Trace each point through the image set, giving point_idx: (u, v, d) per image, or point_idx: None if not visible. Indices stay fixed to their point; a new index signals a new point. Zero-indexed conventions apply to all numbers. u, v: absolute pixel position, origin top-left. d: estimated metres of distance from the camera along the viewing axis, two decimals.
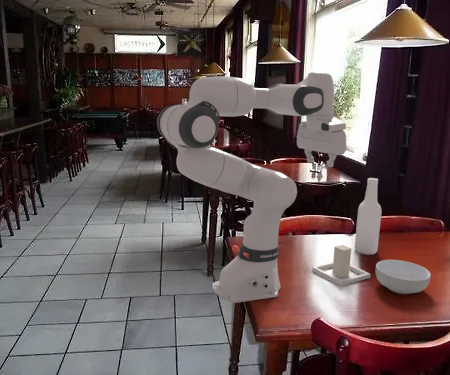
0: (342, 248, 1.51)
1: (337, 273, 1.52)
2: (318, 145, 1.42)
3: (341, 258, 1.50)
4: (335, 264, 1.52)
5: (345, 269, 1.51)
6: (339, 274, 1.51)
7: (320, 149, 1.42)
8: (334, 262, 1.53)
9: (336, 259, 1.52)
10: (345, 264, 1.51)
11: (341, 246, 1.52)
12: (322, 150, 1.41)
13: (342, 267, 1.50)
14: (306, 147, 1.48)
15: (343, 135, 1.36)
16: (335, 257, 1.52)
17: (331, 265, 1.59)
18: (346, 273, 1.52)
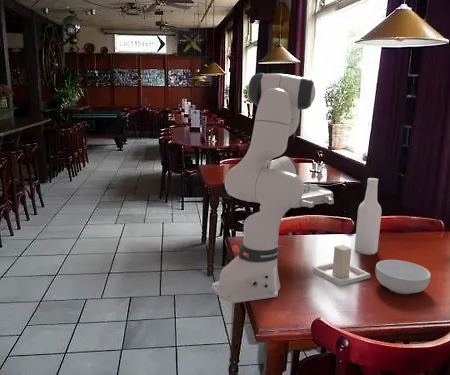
0: (342, 248, 1.51)
1: (337, 273, 1.52)
2: (312, 193, 1.64)
3: (341, 258, 1.50)
4: (335, 264, 1.52)
5: (345, 269, 1.51)
6: (339, 274, 1.51)
7: (317, 194, 1.64)
8: (334, 262, 1.53)
9: (336, 259, 1.52)
10: (345, 264, 1.51)
11: (341, 246, 1.52)
12: (320, 194, 1.64)
13: (342, 267, 1.50)
14: (303, 196, 1.60)
15: None
16: (335, 257, 1.52)
17: (331, 265, 1.59)
18: (346, 273, 1.52)
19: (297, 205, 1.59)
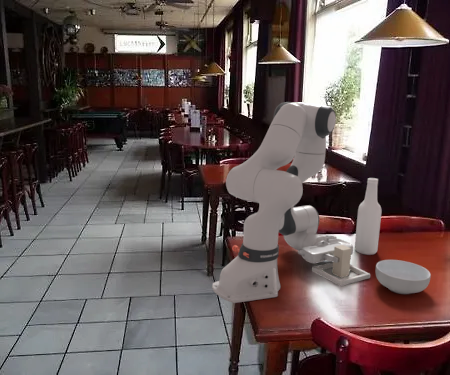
0: (342, 248, 1.51)
1: (337, 273, 1.52)
2: (332, 247, 1.57)
3: (341, 258, 1.50)
4: (335, 264, 1.52)
5: (345, 269, 1.51)
6: (339, 274, 1.51)
7: None
8: (334, 262, 1.53)
9: None
10: (345, 264, 1.51)
11: (341, 246, 1.52)
12: None
13: (342, 267, 1.50)
14: (323, 251, 1.53)
15: None
16: None
17: (331, 265, 1.59)
18: (346, 273, 1.52)
19: (317, 260, 1.52)
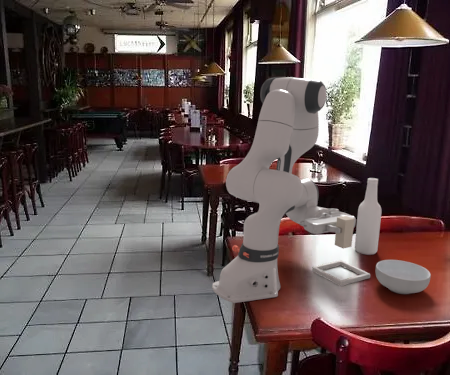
0: (344, 218, 1.48)
1: (339, 244, 1.50)
2: (335, 219, 1.55)
3: (344, 229, 1.47)
4: (337, 235, 1.50)
5: (347, 240, 1.49)
6: (342, 245, 1.49)
7: None
8: (336, 233, 1.50)
9: None
10: (348, 235, 1.48)
11: (344, 217, 1.50)
12: None
13: (344, 238, 1.48)
14: (325, 222, 1.51)
15: None
16: None
17: (331, 265, 1.59)
18: (349, 244, 1.50)
19: (319, 231, 1.49)
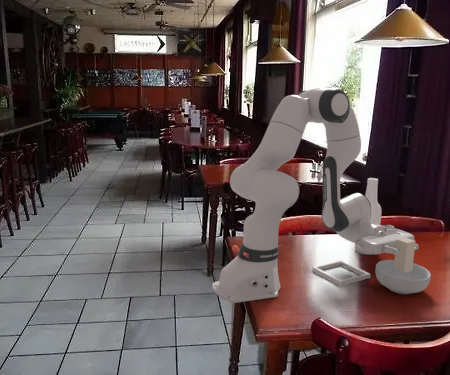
0: (405, 240, 1.39)
1: (400, 268, 1.40)
2: (393, 237, 1.45)
3: (405, 252, 1.38)
4: (397, 258, 1.40)
5: (408, 263, 1.39)
6: (402, 269, 1.39)
7: (398, 238, 1.45)
8: (396, 256, 1.41)
9: None
10: (409, 258, 1.39)
11: (404, 239, 1.40)
12: (401, 237, 1.45)
13: (405, 261, 1.38)
14: (384, 241, 1.41)
15: None
16: None
17: (331, 265, 1.59)
18: (409, 268, 1.40)
19: (379, 251, 1.39)
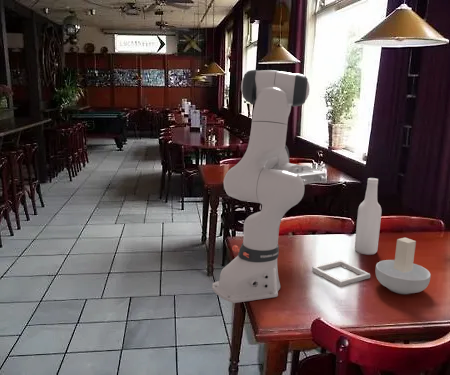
0: (406, 240, 1.39)
1: (400, 268, 1.40)
2: (306, 173, 1.68)
3: (405, 252, 1.38)
4: (397, 258, 1.40)
5: (409, 263, 1.39)
6: (403, 269, 1.39)
7: (310, 173, 1.67)
8: (396, 256, 1.41)
9: (399, 253, 1.40)
10: (409, 258, 1.39)
11: (404, 239, 1.40)
12: (313, 173, 1.68)
13: (406, 261, 1.38)
14: None
15: None
16: (398, 251, 1.40)
17: (331, 265, 1.59)
18: (410, 268, 1.40)
19: None
